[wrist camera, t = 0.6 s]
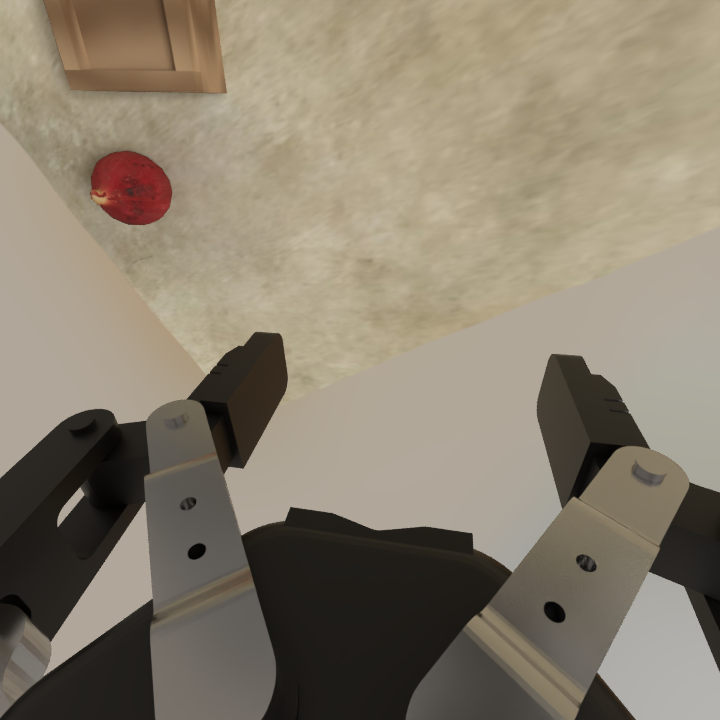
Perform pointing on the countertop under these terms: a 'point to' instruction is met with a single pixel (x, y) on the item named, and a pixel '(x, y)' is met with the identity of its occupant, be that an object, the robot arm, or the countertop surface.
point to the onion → (131, 188)
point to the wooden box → (139, 45)
